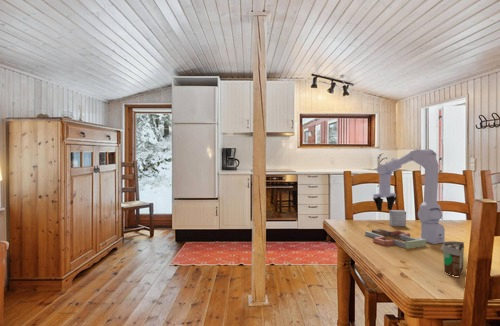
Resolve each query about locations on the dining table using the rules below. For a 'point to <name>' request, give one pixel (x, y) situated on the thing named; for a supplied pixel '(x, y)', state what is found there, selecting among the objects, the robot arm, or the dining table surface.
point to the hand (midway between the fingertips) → (384, 210)
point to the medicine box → (397, 218)
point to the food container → (453, 257)
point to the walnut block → (379, 232)
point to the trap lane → (400, 235)
